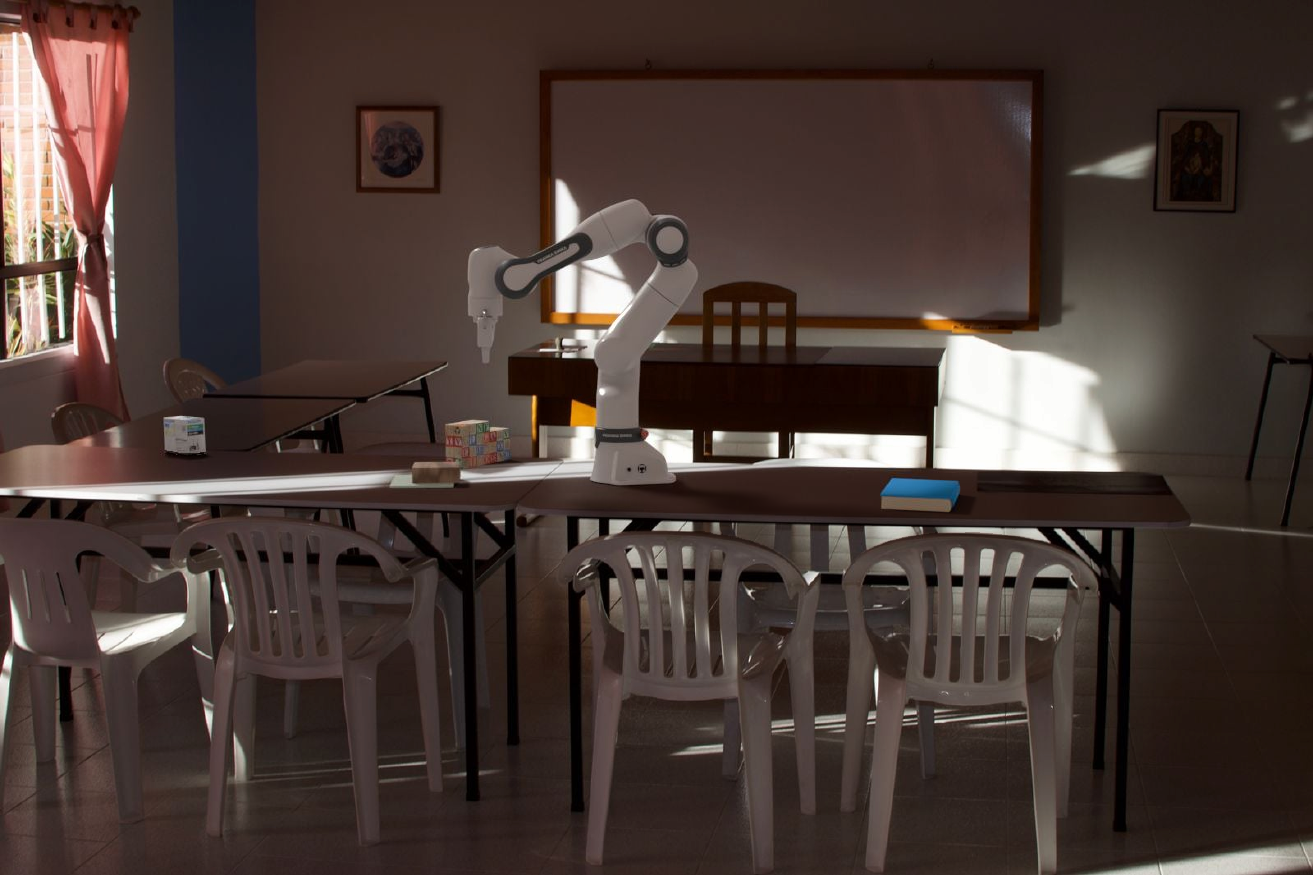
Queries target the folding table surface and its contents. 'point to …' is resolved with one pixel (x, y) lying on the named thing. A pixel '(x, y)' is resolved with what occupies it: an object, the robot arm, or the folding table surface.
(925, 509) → the book
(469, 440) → the stack of blocks
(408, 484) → the mat
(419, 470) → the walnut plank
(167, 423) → the light bulb box
